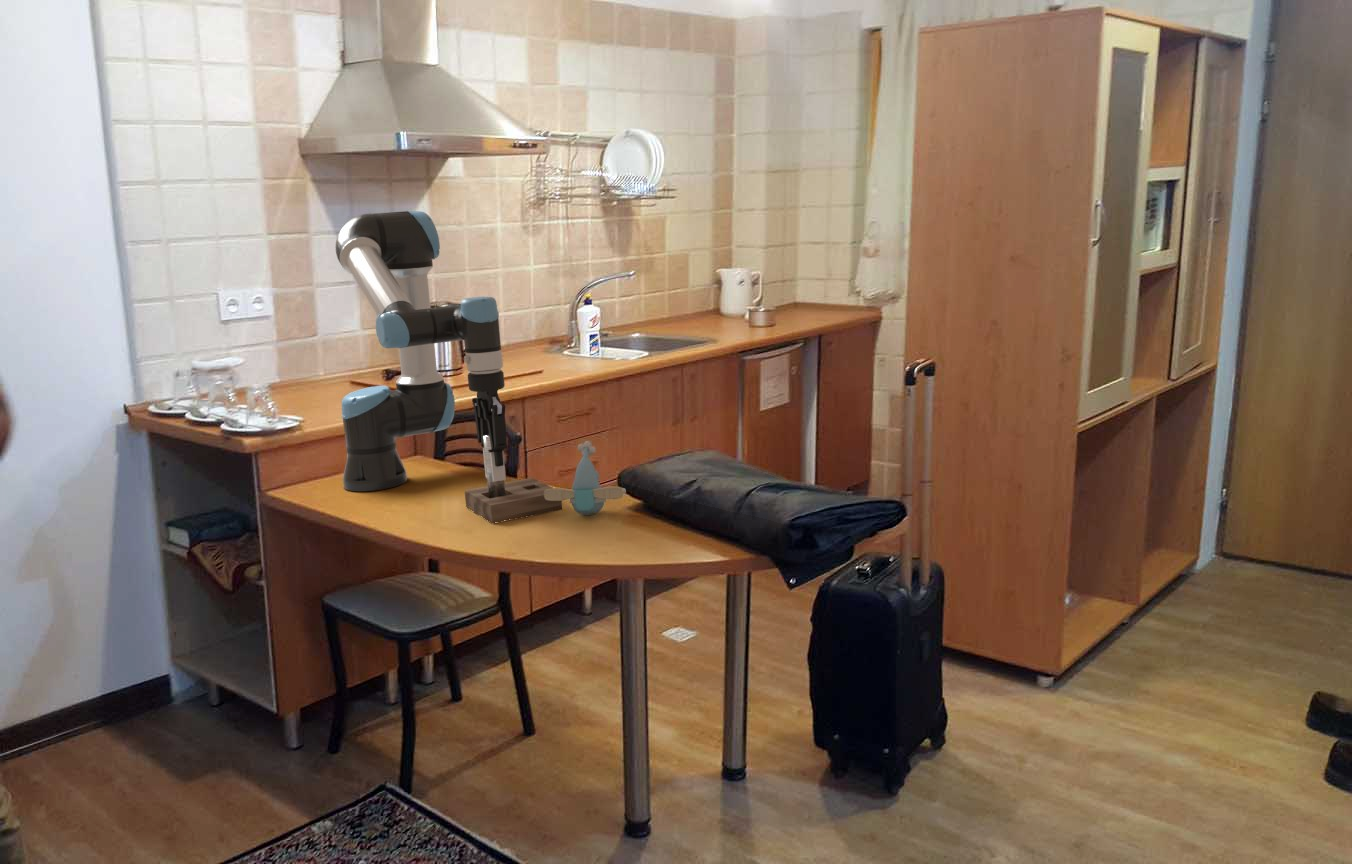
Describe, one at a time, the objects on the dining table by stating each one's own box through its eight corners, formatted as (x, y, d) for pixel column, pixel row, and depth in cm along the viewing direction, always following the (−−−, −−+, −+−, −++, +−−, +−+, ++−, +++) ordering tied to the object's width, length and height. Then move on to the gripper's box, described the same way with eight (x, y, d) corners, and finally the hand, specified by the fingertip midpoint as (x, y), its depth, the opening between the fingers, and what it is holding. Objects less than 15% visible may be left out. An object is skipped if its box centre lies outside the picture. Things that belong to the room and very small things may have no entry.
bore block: (466, 507, 245) (464, 490, 244) (533, 494, 252) (531, 477, 252) (492, 523, 231) (490, 505, 230) (562, 509, 239) (560, 491, 238)
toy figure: (631, 505, 238) (626, 437, 235) (624, 520, 228) (619, 449, 225) (555, 508, 240) (549, 440, 237) (545, 522, 230) (539, 452, 227)
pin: (486, 498, 240) (480, 435, 237) (502, 495, 242) (496, 432, 239) (492, 501, 237) (486, 437, 234) (508, 498, 239) (502, 434, 236)
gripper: (455, 369, 239) (465, 474, 244) (482, 377, 225) (493, 489, 230) (487, 364, 243) (498, 468, 247) (516, 372, 228) (526, 482, 233)
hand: (495, 478), depth 238 cm, fingers closed on pin, 3 cm apart
